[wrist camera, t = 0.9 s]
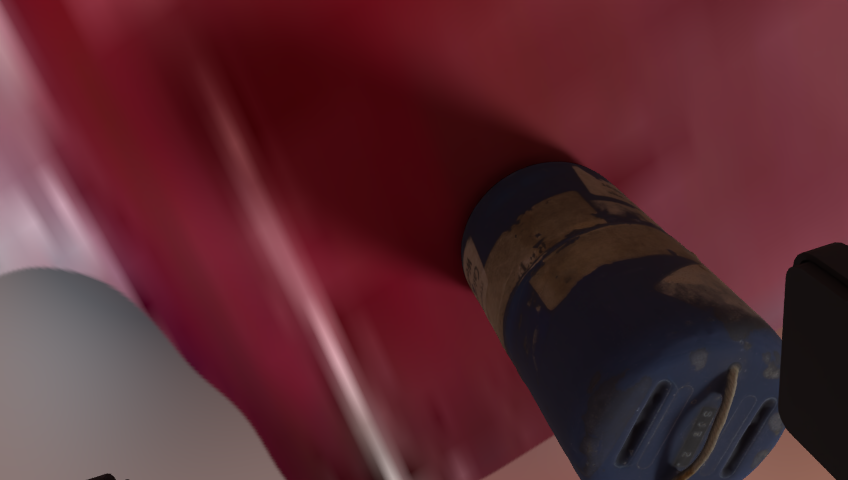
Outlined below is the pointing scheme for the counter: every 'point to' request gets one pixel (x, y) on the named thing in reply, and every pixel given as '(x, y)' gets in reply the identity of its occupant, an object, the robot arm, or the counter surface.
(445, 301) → the counter surface
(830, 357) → the robot arm
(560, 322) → the blue cylindrical canister
